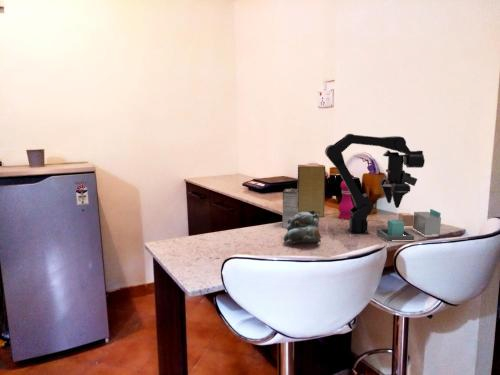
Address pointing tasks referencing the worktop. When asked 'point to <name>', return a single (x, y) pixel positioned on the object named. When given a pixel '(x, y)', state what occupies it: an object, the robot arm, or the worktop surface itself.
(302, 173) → the food packaging
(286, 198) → the coffee box
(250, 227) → the worktop surface
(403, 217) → the terracotta block
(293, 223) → the grey-green lumpy figure
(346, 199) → the pepper mill
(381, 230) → the parts tray
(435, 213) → the panel
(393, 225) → the teal block
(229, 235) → the worktop surface
